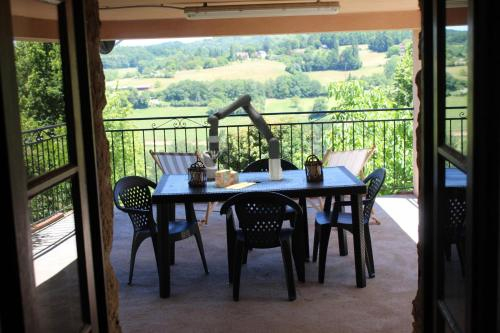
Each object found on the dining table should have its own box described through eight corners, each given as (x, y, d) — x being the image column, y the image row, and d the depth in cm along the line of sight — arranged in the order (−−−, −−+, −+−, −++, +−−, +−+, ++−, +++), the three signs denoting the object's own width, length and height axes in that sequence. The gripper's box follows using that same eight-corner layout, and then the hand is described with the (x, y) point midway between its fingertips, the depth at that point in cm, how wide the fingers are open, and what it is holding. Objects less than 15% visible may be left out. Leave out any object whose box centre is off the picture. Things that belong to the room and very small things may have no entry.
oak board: (256, 183, 538) (256, 182, 538) (240, 189, 516) (240, 188, 516) (240, 182, 545) (240, 182, 545) (223, 188, 523) (223, 188, 522)
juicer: (225, 179, 565) (223, 150, 561) (211, 182, 553) (209, 152, 549) (199, 177, 585) (198, 148, 581) (186, 180, 573) (184, 150, 569)
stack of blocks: (232, 182, 547) (231, 167, 545) (238, 183, 543) (238, 168, 541) (215, 187, 530) (214, 171, 528) (221, 188, 526) (220, 172, 525)
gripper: (223, 141, 536) (224, 163, 538) (209, 140, 542) (210, 162, 545) (218, 142, 529) (219, 164, 532) (204, 141, 536) (205, 163, 538)
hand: (215, 163), depth 538 cm, fingers closed
